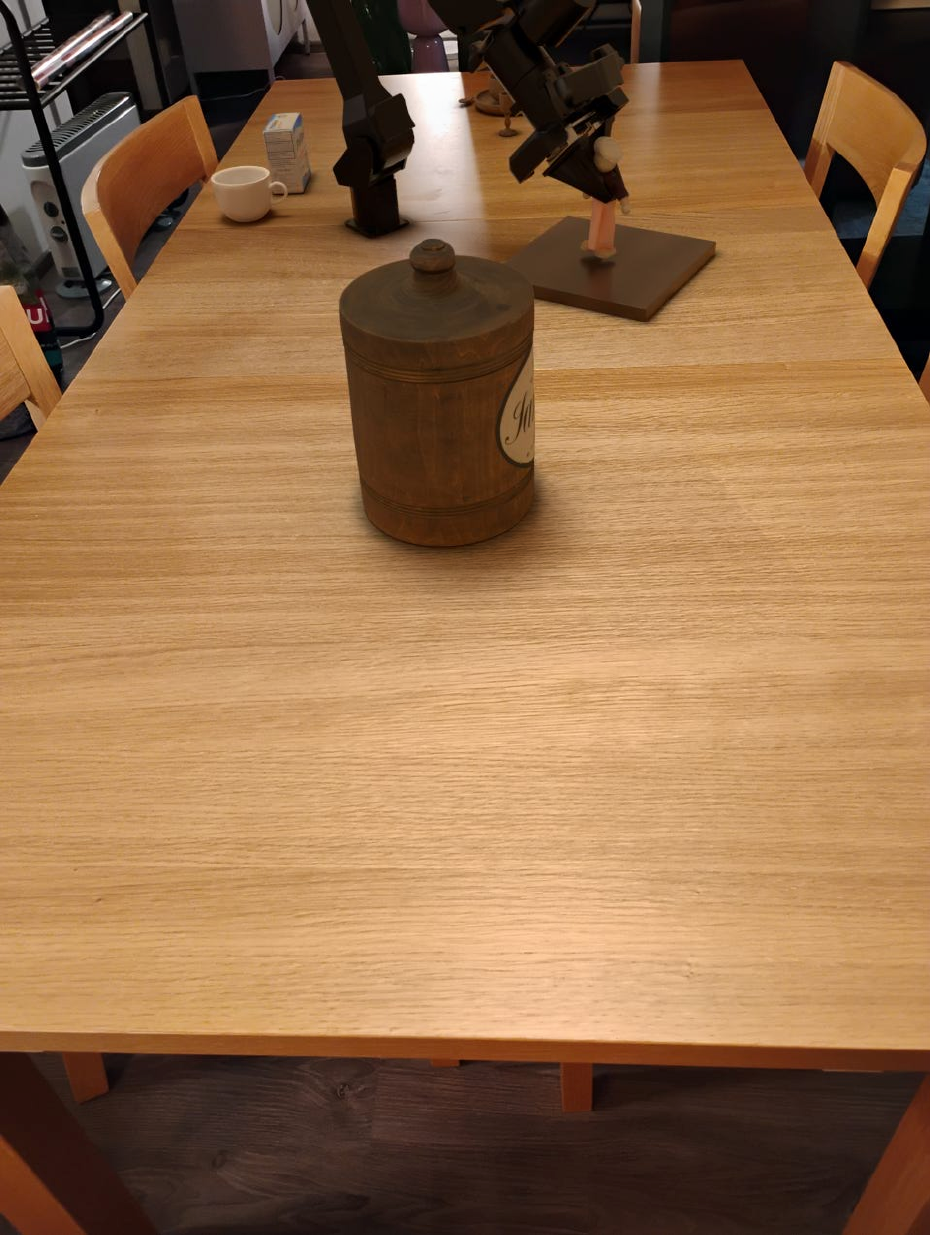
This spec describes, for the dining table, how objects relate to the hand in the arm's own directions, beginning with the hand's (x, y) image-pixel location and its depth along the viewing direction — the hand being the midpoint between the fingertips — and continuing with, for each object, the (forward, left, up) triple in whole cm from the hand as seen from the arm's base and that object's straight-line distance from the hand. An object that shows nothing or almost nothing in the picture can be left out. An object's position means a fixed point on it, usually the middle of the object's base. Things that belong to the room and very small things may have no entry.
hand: (615, 196), depth 111 cm
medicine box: (+54, +12, -9) cm, 56 cm away
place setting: (+58, -30, -9) cm, 66 cm away
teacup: (+47, +22, -9) cm, 53 cm away
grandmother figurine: (+1, +1, -7) cm, 7 cm away
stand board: (+1, 0, -9) cm, 9 cm away
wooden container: (-23, +42, -9) cm, 48 cm away
